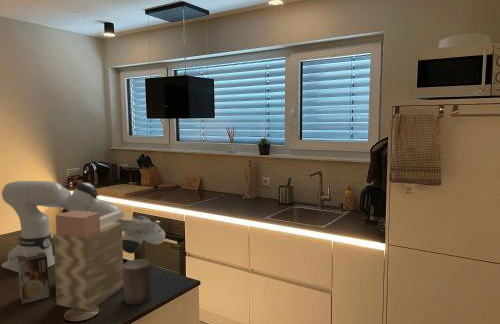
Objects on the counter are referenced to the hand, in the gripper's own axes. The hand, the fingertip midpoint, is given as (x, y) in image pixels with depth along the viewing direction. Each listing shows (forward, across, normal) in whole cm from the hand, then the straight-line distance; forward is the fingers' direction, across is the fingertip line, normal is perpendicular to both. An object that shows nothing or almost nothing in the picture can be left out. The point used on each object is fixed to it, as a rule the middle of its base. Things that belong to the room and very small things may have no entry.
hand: (128, 221), depth 163 cm
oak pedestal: (+9, +1, -32) cm, 33 cm away
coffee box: (+16, +20, -36) cm, 44 cm away
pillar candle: (+6, -17, -30) cm, 35 cm away
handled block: (+18, 0, -7) cm, 19 cm away
